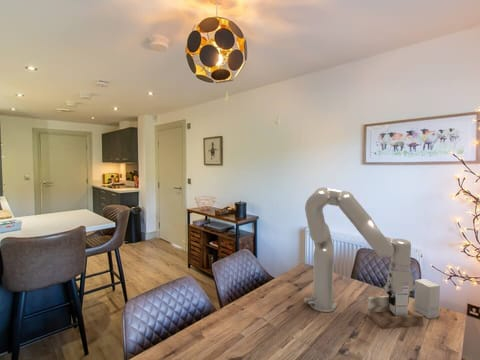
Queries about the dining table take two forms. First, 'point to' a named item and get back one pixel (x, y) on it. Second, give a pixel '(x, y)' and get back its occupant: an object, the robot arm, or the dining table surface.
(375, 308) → the cleat board
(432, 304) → the skincare box
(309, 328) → the dining table surface
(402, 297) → the syrup box
